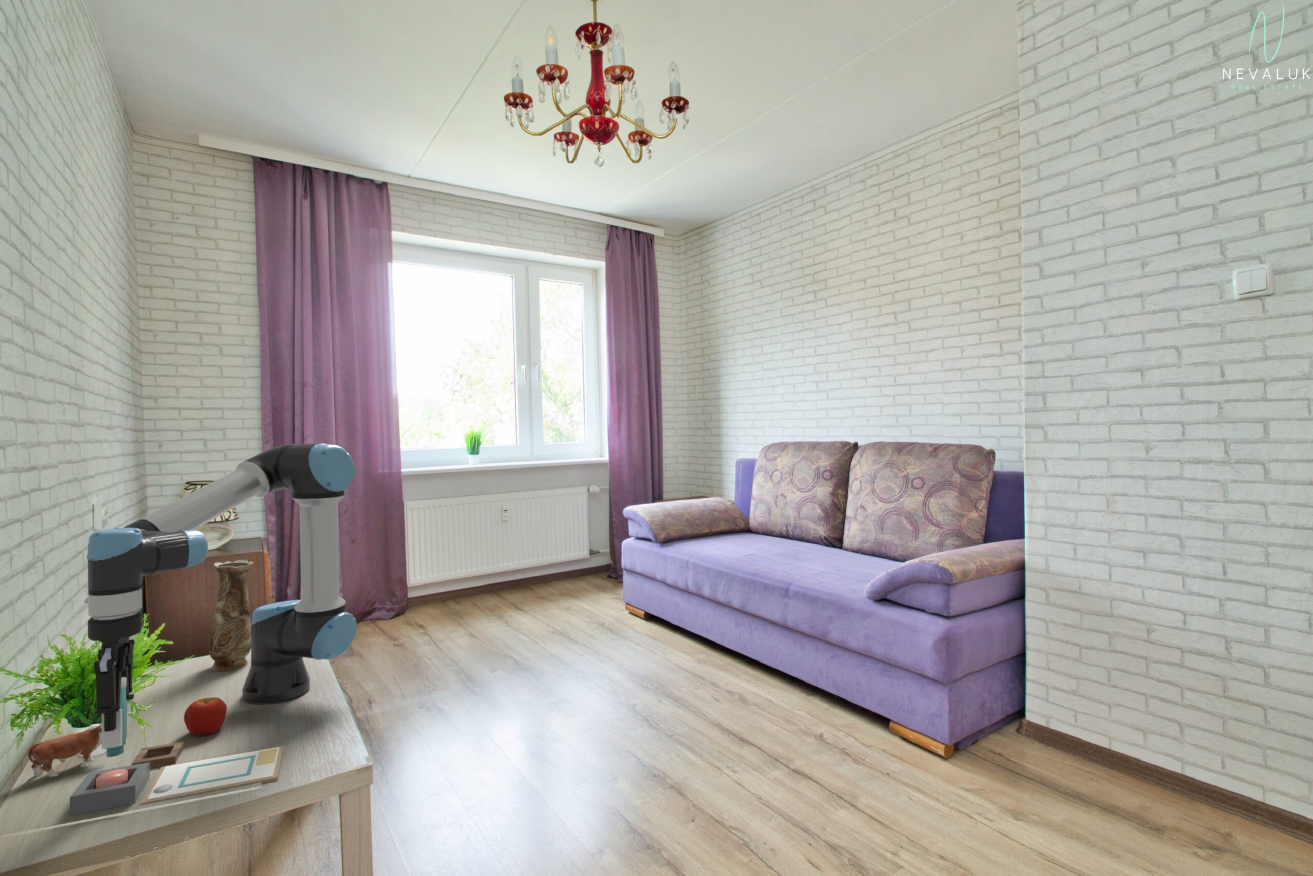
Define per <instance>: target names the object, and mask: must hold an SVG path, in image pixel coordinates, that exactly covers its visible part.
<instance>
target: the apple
mask: <svg viewBox="0 0 1313 876" xmlns="http://www.w3.org/2000/svg"><path fill="white" fill-rule="evenodd" d="M227 708H228V706H227V704H226V703H225V701H224V700H223V699H222V698H220V697H216V696H215V697H205V698H199V699H197V700H194V701H193V702H192V703H191V704H190V705H189V706H188V707H187V708H186V709H185V712H184V715H183V721H184V724H185V726H186V729H187V731H188V732H189V733H190V734H191V735H193V736H196V737H197V736H198V737H199V736H200V737H201V736H208V735H211V734H215V733H216V732H218V731H219V730H221V728H222V726H223V725H224V722H225V720H226V717H227V716H226V715H227V711H228V710H227Z"/></svg>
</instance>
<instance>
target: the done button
mask: <svg viewBox="0 0 1313 876" xmlns="http://www.w3.org/2000/svg"><path fill="white" fill-rule="evenodd" d="M125 783H128V770H126V769H116V770H112V771H108V772H105V773H103V774H101V775H99V776H98V777H97V778H96V788H102V787H108V786H113V785H119V784H125Z"/></svg>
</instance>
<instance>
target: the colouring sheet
mask: <svg viewBox="0 0 1313 876" xmlns="http://www.w3.org/2000/svg"><path fill="white" fill-rule="evenodd" d="M284 752H285V745H282V746H276V747H269V748H265V749H259V750H254V751H253V750H252V751H247V752H246V751H245V752H240V753H236V754H235V753H234V754H229V755H223V756H218V757H212V758H205V759H199V760H194V761H188V762H182V763H175V764H170V765H165V766H160V769H158V772H157V774H156V776H155V778H154V779H153V781H152V783H151V784H150V787H149V788H148V790H147V792H146V793H145V795H144V796H143V798H142V800H141V802H140V805H145V804H150V803H156V802H161V801H166V800H171V799H177V798H182V797H186V796H192V795H197V794H203V793H204V794H205V793H208V792H215V791H219V790H220V791H221V790H224V789H230V788H235V787H240V786H247V785H251V784H257V783H261V784H266V783H270V782H271V783H272V782H276V781H278V779H279V775H280V769H281V765H282V760H283V755H284Z"/></svg>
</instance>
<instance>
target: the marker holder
mask: <svg viewBox="0 0 1313 876" xmlns="http://www.w3.org/2000/svg"><path fill="white" fill-rule="evenodd" d="M183 750H184V741H180V742H173V743H166V744H161V745H160V744H159V745H155V746H154V745H153V746H148V747H142V748H141V749H140V750H139V752H138V753H137V755H136V756H135V758H134V759H133V760H132V762H131V764H130V766H131V765H137V764H143V763H149V762H150V769H152V768H157V767H164V766H169V765H175V764H177V761H178V760H179V758H180V755H181V754H182V752H183Z"/></svg>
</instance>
